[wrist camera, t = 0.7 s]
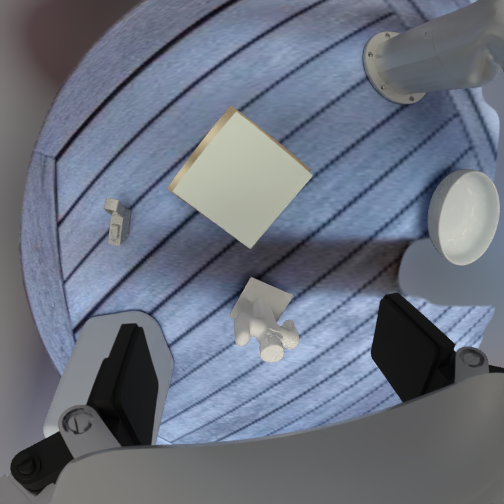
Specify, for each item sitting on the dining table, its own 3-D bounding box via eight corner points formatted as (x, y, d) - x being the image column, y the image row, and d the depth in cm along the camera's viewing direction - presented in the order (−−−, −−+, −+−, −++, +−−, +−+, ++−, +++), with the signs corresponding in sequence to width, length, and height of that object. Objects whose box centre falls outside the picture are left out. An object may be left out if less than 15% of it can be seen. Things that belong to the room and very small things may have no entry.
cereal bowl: (402, 240, 48) (424, 255, 41) (430, 150, 42) (457, 154, 36) (459, 259, 51) (481, 273, 44) (484, 183, 46) (509, 191, 39)
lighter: (127, 236, 43) (111, 256, 35) (117, 234, 42) (99, 253, 35) (134, 190, 40) (117, 201, 33) (123, 188, 40) (104, 198, 33)
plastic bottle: (78, 315, 46) (10, 437, 20) (154, 303, 47) (111, 450, 21) (111, 377, 52) (76, 496, 26) (180, 370, 53) (169, 506, 27)
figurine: (272, 321, 50) (290, 383, 36) (221, 301, 48) (223, 363, 34) (294, 287, 48) (322, 343, 35) (242, 263, 46) (252, 318, 32)
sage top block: (234, 115, 34) (236, 111, 29) (301, 170, 37) (312, 175, 33) (178, 184, 36) (172, 191, 32) (246, 235, 40) (250, 249, 35)
